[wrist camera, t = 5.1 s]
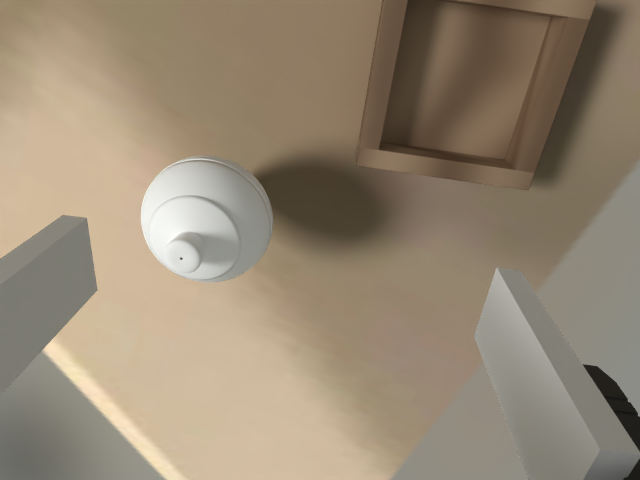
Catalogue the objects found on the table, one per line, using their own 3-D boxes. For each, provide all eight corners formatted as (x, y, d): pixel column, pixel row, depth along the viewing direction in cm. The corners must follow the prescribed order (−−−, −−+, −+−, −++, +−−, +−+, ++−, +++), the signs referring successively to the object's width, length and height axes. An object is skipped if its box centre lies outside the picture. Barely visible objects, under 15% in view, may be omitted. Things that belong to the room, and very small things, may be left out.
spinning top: (296, 221, 34) (271, 314, 24) (201, 233, 35) (135, 327, 25) (276, 121, 31) (236, 175, 20) (172, 137, 32) (81, 197, 21)
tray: (356, 153, 32) (356, 165, 29) (387, -30, 27) (391, -36, 24) (513, 176, 32) (528, 190, 29) (573, -3, 27) (598, -5, 24)
